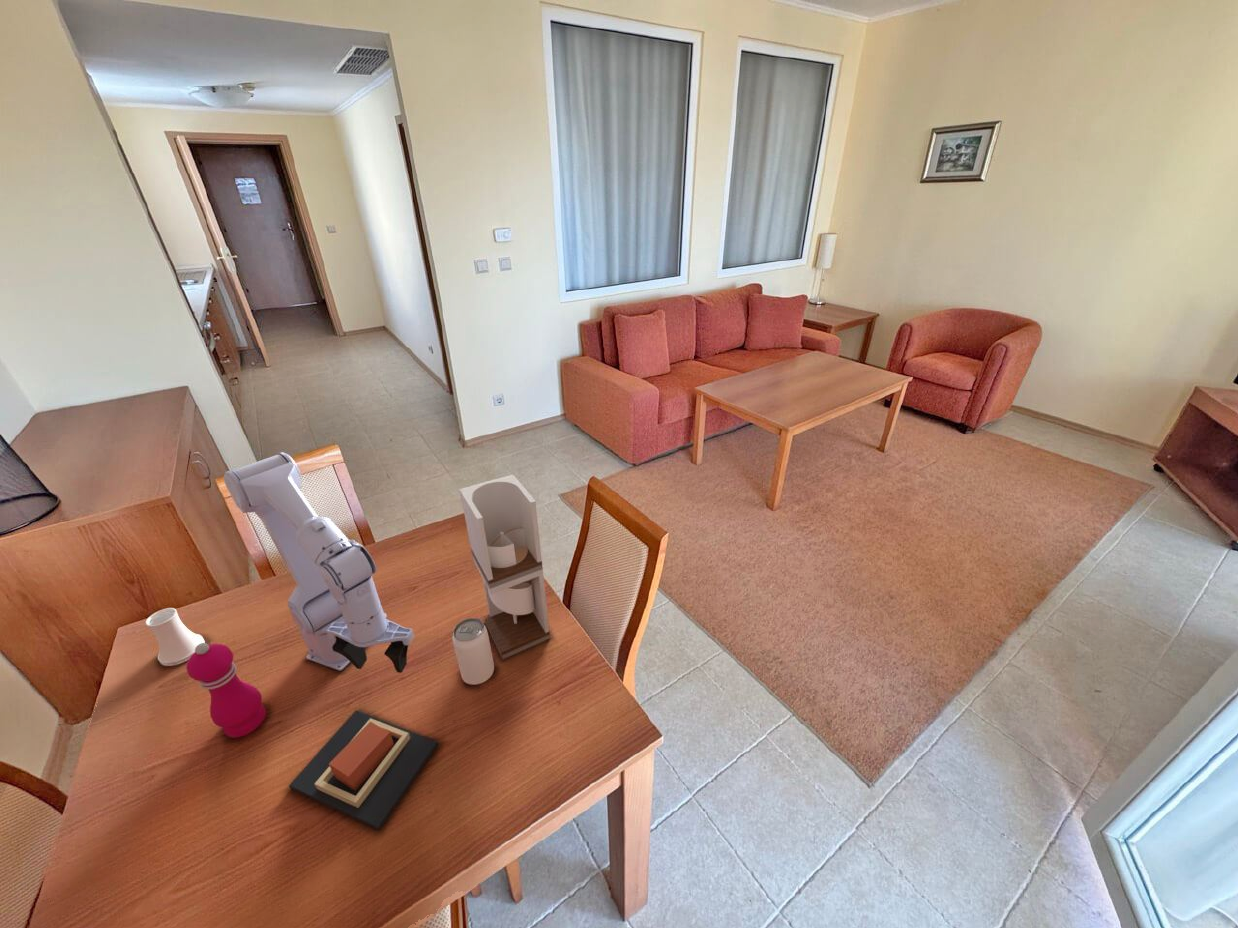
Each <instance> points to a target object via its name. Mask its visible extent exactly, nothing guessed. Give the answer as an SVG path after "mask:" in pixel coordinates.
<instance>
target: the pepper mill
mask: <svg viewBox="0 0 1238 928" xmlns="http://www.w3.org/2000/svg"><path fill="white" fill-rule="evenodd" d="M186 662H187V663H186V672H187V675H188V676H189V677H190V678H191V679H193V680H195V681H197V682H198V684H199V685H200V687H201V688H202V689H204V690H208V693H209V694H210V705H209V712H210V718H211V720H212V722H213V724H215V726H217V727H219V728H222V731H223V732H224V733H225V735H226V736H227V737H229V738H234V739H235V738H236V739H237V738H241V737H244V736H247V735H249V734H250V733H253V732H254V731H255V730H256V729H258V727H260V725H262V723H263V722H264V721H265V718H266V715H267V710H266V708H265V705H264V704H263V703H262V700H263V697H262V693H261V692H260V691H259V689H258V688H257V687H255V686H254V685H252V684H250V683H247V682H245V681H242V680H241V679H240V678H239V677H238V676H237V670H238V668H237V665H235V663H234V654H233V651H232V649H230V647H228V646H227V645H225V644H222V643H211V644H208V643H207V642H205V643H201V644H199V645H197V646H196V648H195V653H194V654H193V655H192V656H191V657H190V658H189V660H187V661H186Z"/></svg>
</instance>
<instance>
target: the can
mask: <svg viewBox="0 0 1238 928" xmlns="http://www.w3.org/2000/svg"><path fill="white" fill-rule="evenodd" d="M452 632H453V633H452V644H453V649H454V653H455V657H456V661H457V666H458V669H459V673H460V675H461V676H460V677H461V679H462V681H463V682H464V683H465V684H467V685H473V686H475V685H480V684H484V683H485V682H487V681H488V680H489V679H490V678H492V676H493V674H494V671H495V661H494V656H493V653H492V647H491V642H490V637H489V632H488V628H487V626H486V625H485V624H484V622H483V621H482V619H480V618H476V617H469V618H465V619H462V620H461V621H459V622H458V623H457V624H456V625H455V626H454V628H453V631H452Z"/></svg>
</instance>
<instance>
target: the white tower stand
mask: <svg viewBox="0 0 1238 928" xmlns="http://www.w3.org/2000/svg"><path fill="white" fill-rule="evenodd" d="M459 494H460V500H461V505H462V510H463V515H464V519H465V524H466V530H467V536H468V541H469V546H470V550H471V556H472V560H473V563H474V565H475V567H476V568H477V569H476V570H477V571H478V572H479V574H480V576H481V579H482V582H483V588H484V593H485V599H486V604H487V609H488V614H486V615H484V617H483V618H484V622H485V626H486V628H487V631H489V632H488V633H489V634H490V636H491V638H492V640H493V642H494V644H495V647H496V649H497V650H498V651H497V652H498V653H499V656H500V657H501V659H502V660H505V659H507V658H509V657H511V656H513V655H516V654H518V653H520V652H523V651H524V650H527V649H529V648H531V647H533V646H536V645H538V644H541V643H542V642H545V641H547V640H550V639H551V632H550V624H549V623H550V622H549V614H548V606H547V605H548V604H547V596H546V586H545V576H544V567H543V559H542V550H541V549H542V548H541V541H540V540H541V539H540V532H539V531H540V530H539V522H538V512H537V503H536V500H535V499H534V498H533V496H532V495H531V494H530V493H529V491H528V490H527V489H526V488H525V487H524V485H523V484H522V483H521V482H520V481H519V479H518V478H517V477H516V476H515V475H514V474H510V475H509V474H508V475H506V476H502V477H498V478H495V479H491V480H487V481H484V482H481V483H477V484H473V485H470V486H466V487H463V488H459Z"/></svg>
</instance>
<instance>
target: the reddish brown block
mask: <svg viewBox="0 0 1238 928" xmlns="http://www.w3.org/2000/svg"><path fill="white" fill-rule="evenodd" d="M394 746H395V745H394V743H393V740H392V738H391V735H390V732H388V731H386V730H384V729H383V728H381V727H379V726H377V725H376V724H374V723H372V722H369V723H368V724H367V725H366V727H365V728H364V729H363V730H362V731H361V732H360V733H359V734H358V735H357V736H356V737H355V738H354V739H353V740H352V741H351V742H350V743H349V744H348V745H347V746H346V747H345V748H344V749H343V750H342V751H341V752H340V753H339V754H338V755H337V756H336V757H335V758H334V759H333V760H332V761H331V762H330V763H329V766H330V768H331V770H332V772H333V774H334V776H335V778H336V779H338V780H339V781H341V782H342V783H344V784H345V785H347V786H348V787H349V788H351V789H352V790H354V791H356V790H357V788H358V787H359V786H360V785H361V784H362V783H363V782H364V781H365V780H366V778H367V777H368V776H369V775H370V774H371V773H372V772H373V771H374V770H375V768H376V767H377V766H378V765H379V764H380V763H381V762H382V761H383V759H384V758H385V757H386V756H387V755H388V753H389V752H390V751H391V749H392V748H393V747H394Z"/></svg>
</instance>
